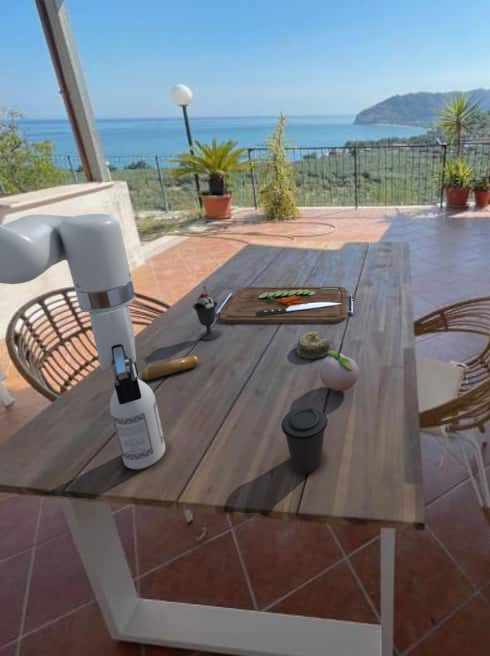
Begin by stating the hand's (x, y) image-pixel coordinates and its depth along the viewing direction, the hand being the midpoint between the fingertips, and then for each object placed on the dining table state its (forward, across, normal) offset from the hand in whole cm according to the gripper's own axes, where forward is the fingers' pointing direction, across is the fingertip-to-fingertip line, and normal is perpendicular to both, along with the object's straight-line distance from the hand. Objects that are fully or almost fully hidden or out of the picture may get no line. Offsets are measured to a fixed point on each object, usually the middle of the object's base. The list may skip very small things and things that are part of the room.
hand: (129, 388), depth 67 cm
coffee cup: (+15, +17, +25) cm, 34 cm away
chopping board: (+15, -48, +48) cm, 70 cm away
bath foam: (+15, 0, 0) cm, 15 cm away
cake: (+15, -17, +43) cm, 49 cm away
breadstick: (+15, -26, +8) cm, 31 cm away
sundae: (+15, -40, +20) cm, 47 cm away
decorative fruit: (+15, +2, +40) cm, 43 cm away
